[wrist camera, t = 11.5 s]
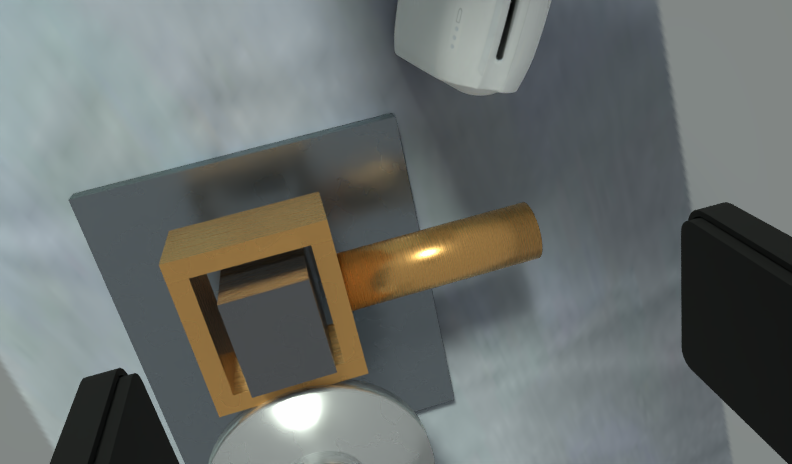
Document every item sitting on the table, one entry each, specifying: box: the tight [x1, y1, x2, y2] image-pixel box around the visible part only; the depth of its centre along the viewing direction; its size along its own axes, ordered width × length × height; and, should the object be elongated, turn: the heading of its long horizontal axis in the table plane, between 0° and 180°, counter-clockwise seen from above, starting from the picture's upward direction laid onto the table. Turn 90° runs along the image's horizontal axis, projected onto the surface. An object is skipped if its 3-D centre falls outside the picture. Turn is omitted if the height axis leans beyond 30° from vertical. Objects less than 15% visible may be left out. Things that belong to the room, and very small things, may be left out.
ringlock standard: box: [69, 113, 542, 464], centre depth 35 cm, size 22×23×15 cm
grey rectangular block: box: [217, 246, 337, 398], centre depth 34 cm, size 5×4×10 cm
